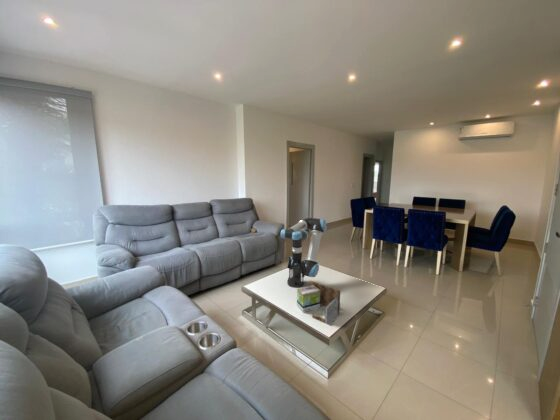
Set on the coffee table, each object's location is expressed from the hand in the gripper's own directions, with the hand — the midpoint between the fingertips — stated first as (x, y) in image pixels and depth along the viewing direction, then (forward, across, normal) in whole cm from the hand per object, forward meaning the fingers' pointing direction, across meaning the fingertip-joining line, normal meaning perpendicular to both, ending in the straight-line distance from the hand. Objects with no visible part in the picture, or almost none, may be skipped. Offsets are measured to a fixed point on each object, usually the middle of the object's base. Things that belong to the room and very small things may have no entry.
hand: (296, 278), depth 180 cm
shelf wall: (+20, +19, 0) cm, 27 cm away
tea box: (+20, +11, 0) cm, 23 cm away
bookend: (+20, +32, -1) cm, 38 cm away
